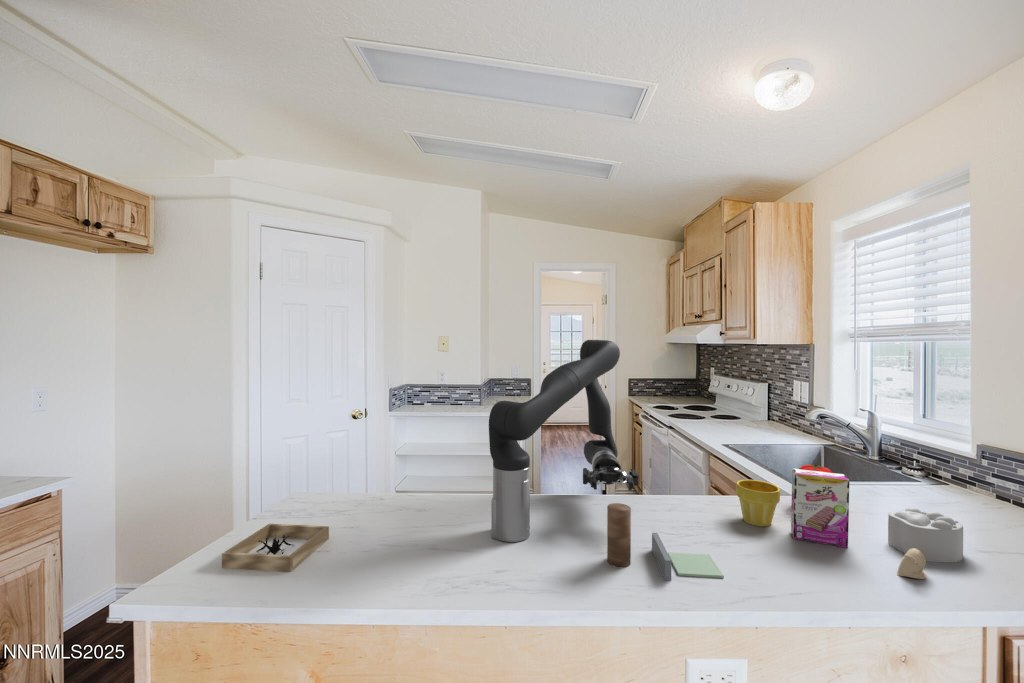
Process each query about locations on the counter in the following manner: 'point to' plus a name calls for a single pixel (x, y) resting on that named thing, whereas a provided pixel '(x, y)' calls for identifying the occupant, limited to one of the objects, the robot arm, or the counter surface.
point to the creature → (275, 545)
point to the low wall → (661, 556)
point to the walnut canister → (619, 535)
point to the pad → (695, 565)
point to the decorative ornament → (912, 564)
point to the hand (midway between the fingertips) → (612, 486)
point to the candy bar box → (820, 507)
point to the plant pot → (757, 501)
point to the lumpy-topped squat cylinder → (926, 534)
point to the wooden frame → (244, 560)
